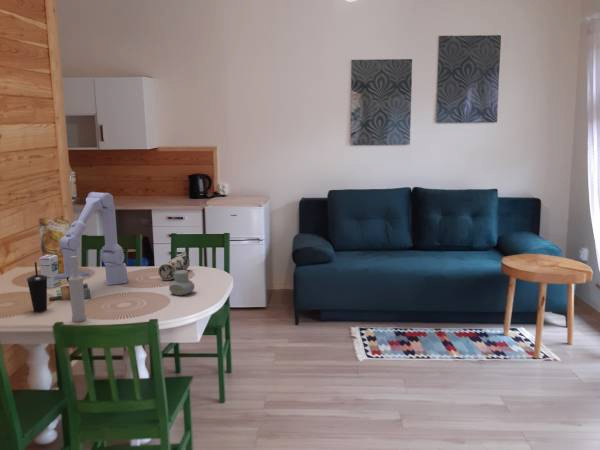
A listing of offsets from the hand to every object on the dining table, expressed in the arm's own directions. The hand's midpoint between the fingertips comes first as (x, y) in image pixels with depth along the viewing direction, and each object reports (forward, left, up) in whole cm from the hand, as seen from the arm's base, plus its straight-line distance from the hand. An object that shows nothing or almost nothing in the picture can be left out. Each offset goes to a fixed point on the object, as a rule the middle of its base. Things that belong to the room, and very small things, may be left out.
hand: (73, 293), depth 243 cm
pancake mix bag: (+4, -45, -2) cm, 45 cm away
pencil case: (-48, -14, -2) cm, 50 cm away
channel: (-3, 0, -2) cm, 4 cm away
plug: (+5, 0, -2) cm, 6 cm away
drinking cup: (+14, +12, -2) cm, 18 cm away
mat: (+3, -10, -2) cm, 11 cm away
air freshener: (-43, +17, -2) cm, 46 cm away
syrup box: (+8, -23, -2) cm, 24 cm away
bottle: (+1, +31, -2) cm, 31 cm away
